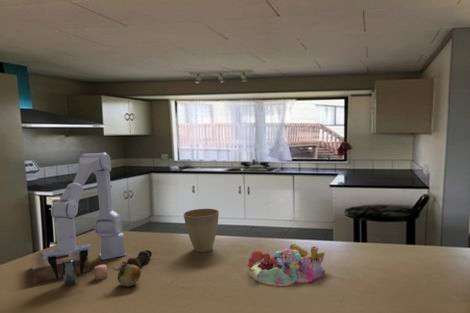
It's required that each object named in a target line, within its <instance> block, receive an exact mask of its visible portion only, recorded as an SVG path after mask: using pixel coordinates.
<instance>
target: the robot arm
mask: <svg viewBox="0 0 470 313" xmlns="http://www.w3.org/2000/svg"><path fill="white" fill-rule="evenodd" d="M111 162H112V161H111V156H110V155H109V154H108V153H107V152H98V153H97V152H96V153H95V152H94V153H92V152H91V153H82V154H81V155H80V158H79V160H78V166H79V167H78V170H77V172H76V175H75V177H74V180H73V181H72V183H71V182H70V183H69V184H68V185H67V186H66V187H65V189H64V191H63V193H62V195H61V196H60V199H59V201H56V202H55V203H53V204H52V206H51V211H50V214H51V217H52V219H53V223H54V224H55V225H56V226H55V228H56V240H57V241H56V242H57V249H52V250H49V251H44V260H45V259H48V262H49V264H50V265H51V267H52V269H53V270H54V273H55V276H56V278H55V279H56V280H59V278H58V271H57V261H56V257H58V256H63V255H68V254H74V253H79V256H80V272H81V273H80V274H83V273H84V272H83V269H84V264H85V261H86V259H87V257H88V256H89V252H91V251H92V246H91V244H90V243H88V244H79V245H77V235H76V221H75V220H76V218H75V217H76V216H77V215H78V210H79V202H80V199H81V197H82V196H83V194H84V191H85V190H84V188H83V186H84V185H85V183H86V182H87V180H88V178H89V177H90V176H91V174H94V175H95V176H96V177H95V178H96V186H97V187H96V188H97V197H98V199H97V200H98V206H99V213H98V214H97V215H96V216H95V217H94V226H93V227H94V228H93V230H94V232H95V233H96V234H97V237H99V245H100V253H98V255H99V258H100V259H101V260H102V261H105V260H109V259H114V258H119V257H123V256H127V253H126V243H125V242H126V241H125V235H124V233H123V232H122V229H123V222H122V219H121V214H119V213H118V212H116V211H114V208H113V207H114V206H113V196H112V195H113V194H112V184H111V174H110V172H111V171H112V163H111Z"/></svg>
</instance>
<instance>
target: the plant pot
mask: <svg viewBox="0 0 470 313" xmlns="http://www.w3.org/2000/svg"><path fill="white" fill-rule="evenodd" d="M219 212H220V211H219V210H218V209H216V208H196V209H192V210H191V209H190V210H187V211H185V212H184V213H183V218H184V219H183V220H184V223H185V228H186V231H187V233H188V237H189V239H190V242H191V244H192V248H193V249H194V251H195V252H198V253H199V252H200V253H205V252H210V251H212V250H213V246H214V245H215V240H216V235H217V230H218V224H219V214H220V213H219Z"/></svg>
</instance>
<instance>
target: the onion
mask: <svg viewBox="0 0 470 313" xmlns="http://www.w3.org/2000/svg"><path fill="white" fill-rule="evenodd" d="M112 270H113V271H115V272H117V278H116V279H117V281H118V283H119V284H120V285H121V286H122V287H129V288H130V287H131V286H133V285H135V284H137V283H138V282H139V281H140V280H139V279H140V277H141V276H142V272H141V268H140V269H139V267H138V266H136V265H129V264H127V261H122V262H121V263H119V266H118V267H117V266H112Z"/></svg>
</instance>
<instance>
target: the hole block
mask: <svg viewBox="0 0 470 313" xmlns="http://www.w3.org/2000/svg"><path fill="white" fill-rule="evenodd" d="M44 252H45V251H44ZM44 252H39V253H33V254H32V278H33V284H37V283H42V282H46V281H50V280H55V279H56V276H55V273H54V270H53V269H52V267H51V265H50V264H49V262H48V259H45V260H44ZM67 259H75V266H76V275H77V274H81V272H80V256H79V253H74V254H68V255H63V256H58V257H56V261H57V271H58V279H60V278H63V267H62V261H64V260H67ZM89 268H90V265H89V258H88V256H87V259H86V261H85V264H84V269H83V273H88V272H90V269H89Z"/></svg>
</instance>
